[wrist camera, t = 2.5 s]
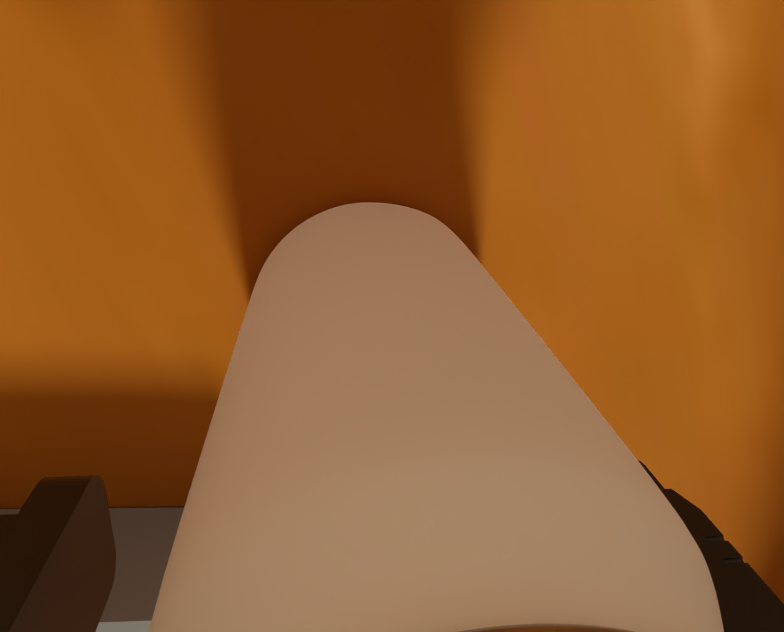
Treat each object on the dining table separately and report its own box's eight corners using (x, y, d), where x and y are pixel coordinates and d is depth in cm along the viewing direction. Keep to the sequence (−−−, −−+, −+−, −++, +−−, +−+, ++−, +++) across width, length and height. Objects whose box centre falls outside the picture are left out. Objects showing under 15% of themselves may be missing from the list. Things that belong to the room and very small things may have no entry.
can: (517, 236, 15) (995, 653, 4) (437, 427, 18) (621, 1012, 7) (284, 164, 14) (145, 520, 3) (230, 382, 16) (36, 1036, 5)
